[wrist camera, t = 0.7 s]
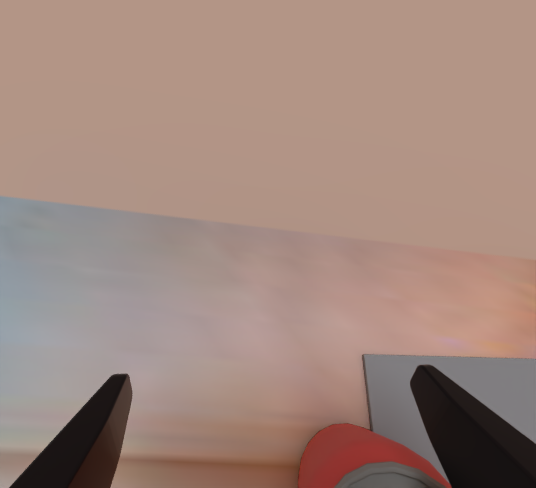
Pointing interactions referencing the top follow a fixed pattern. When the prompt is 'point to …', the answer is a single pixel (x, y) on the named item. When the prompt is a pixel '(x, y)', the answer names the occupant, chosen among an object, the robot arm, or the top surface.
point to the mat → (461, 372)
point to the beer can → (363, 462)
